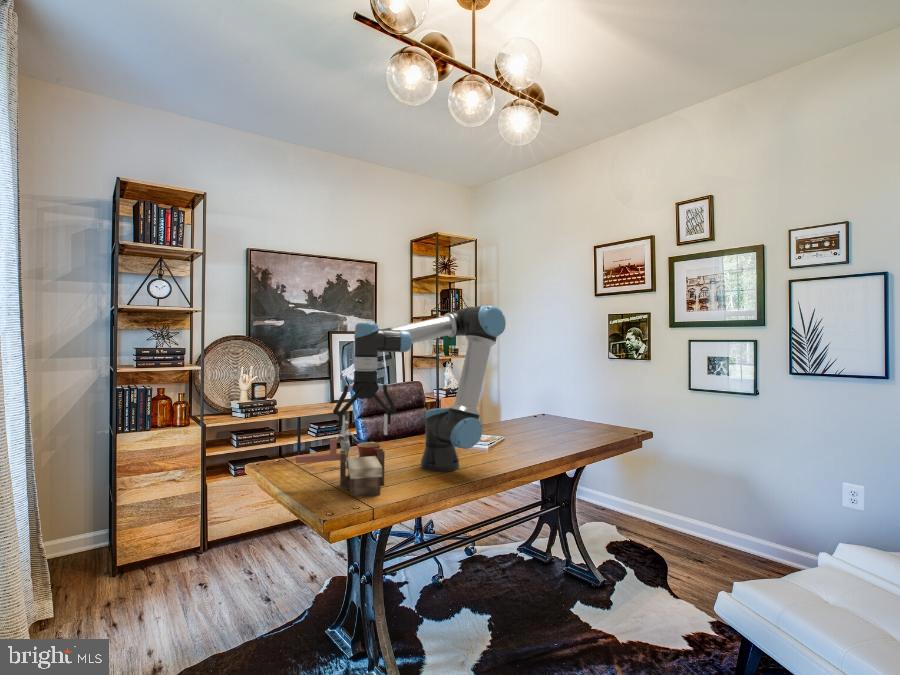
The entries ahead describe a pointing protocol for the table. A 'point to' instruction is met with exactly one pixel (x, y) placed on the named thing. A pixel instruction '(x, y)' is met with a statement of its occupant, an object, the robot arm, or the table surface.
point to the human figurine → (346, 440)
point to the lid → (364, 467)
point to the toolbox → (361, 479)
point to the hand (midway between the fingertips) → (364, 435)
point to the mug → (368, 449)
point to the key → (322, 455)
